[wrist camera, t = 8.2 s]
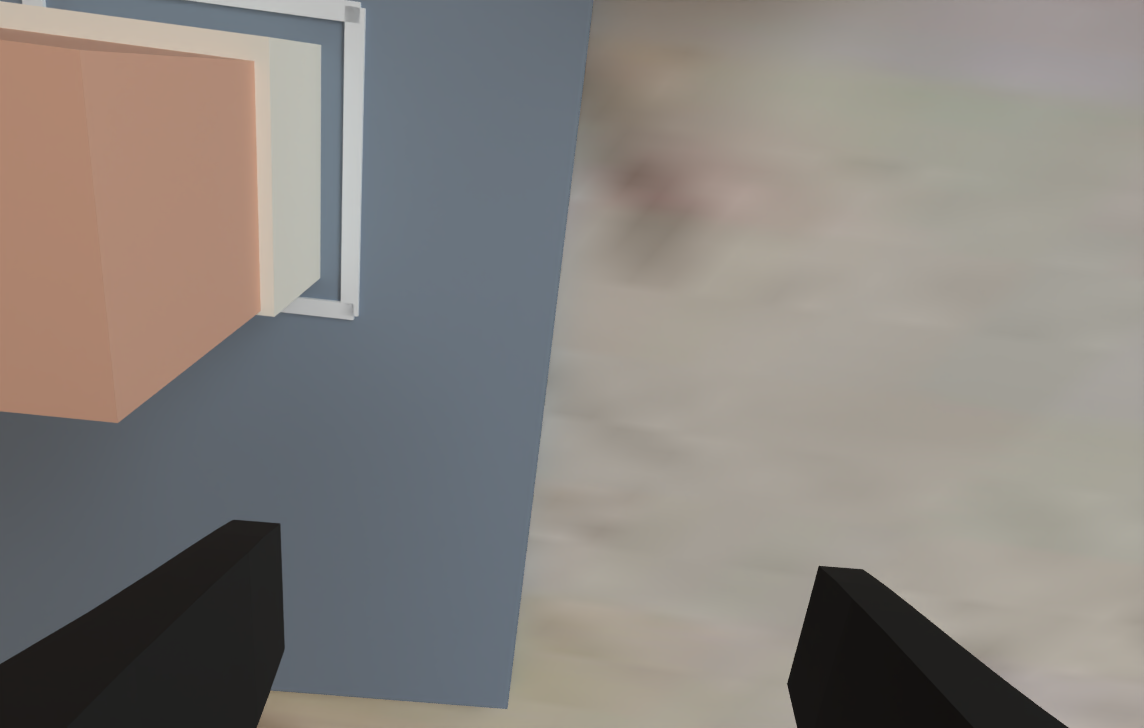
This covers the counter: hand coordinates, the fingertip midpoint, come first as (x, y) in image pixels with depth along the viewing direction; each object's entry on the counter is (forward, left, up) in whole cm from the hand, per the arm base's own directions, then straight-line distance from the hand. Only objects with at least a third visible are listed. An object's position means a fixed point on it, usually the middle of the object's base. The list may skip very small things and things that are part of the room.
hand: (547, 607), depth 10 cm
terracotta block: (+4, +8, -6) cm, 11 cm away
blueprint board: (-1, +8, -9) cm, 12 cm away
